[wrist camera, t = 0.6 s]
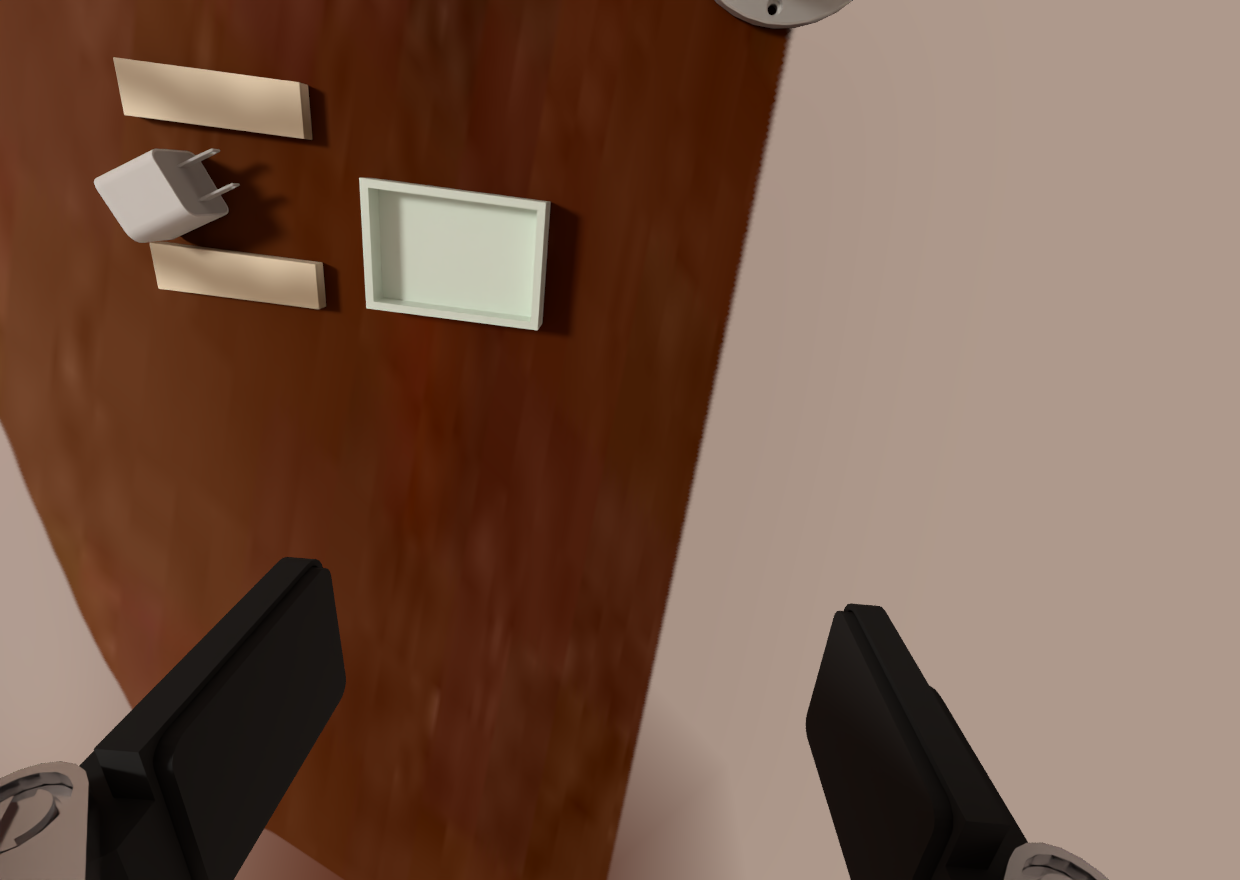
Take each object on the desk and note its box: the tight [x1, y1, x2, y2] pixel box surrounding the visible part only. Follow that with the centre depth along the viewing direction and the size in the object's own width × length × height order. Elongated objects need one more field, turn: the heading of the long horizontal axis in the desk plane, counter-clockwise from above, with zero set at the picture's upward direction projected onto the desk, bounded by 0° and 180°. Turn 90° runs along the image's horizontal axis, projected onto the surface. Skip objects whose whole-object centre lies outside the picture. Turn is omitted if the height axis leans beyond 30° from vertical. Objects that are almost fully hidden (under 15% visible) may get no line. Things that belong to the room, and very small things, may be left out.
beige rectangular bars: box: [113, 57, 326, 309], centre depth 38 cm, size 14×11×1 cm
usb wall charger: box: [94, 149, 240, 243], centre depth 36 cm, size 4×7×4 cm, turn 111°
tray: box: [359, 178, 551, 330], centre depth 38 cm, size 8×12×2 cm
